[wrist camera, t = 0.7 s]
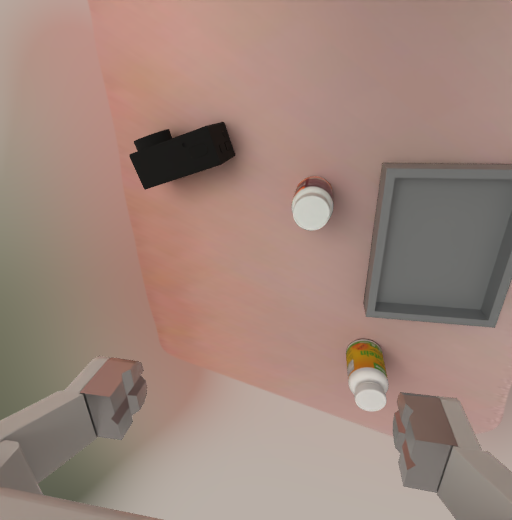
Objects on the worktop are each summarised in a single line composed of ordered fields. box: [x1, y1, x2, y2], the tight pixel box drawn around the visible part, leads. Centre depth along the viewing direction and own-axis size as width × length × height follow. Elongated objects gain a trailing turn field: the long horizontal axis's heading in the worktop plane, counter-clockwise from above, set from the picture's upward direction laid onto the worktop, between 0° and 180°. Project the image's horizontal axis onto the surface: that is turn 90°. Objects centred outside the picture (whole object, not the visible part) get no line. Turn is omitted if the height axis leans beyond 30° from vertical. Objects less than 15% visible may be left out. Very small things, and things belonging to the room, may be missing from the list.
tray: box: [364, 163, 512, 328], centre depth 42 cm, size 20×16×4 cm
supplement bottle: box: [346, 339, 388, 411], centre depth 49 cm, size 5×5×10 cm
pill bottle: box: [292, 176, 333, 231], centre depth 40 cm, size 5×5×8 cm
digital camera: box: [130, 122, 235, 189], centre depth 41 cm, size 10×5×7 cm, turn 109°
